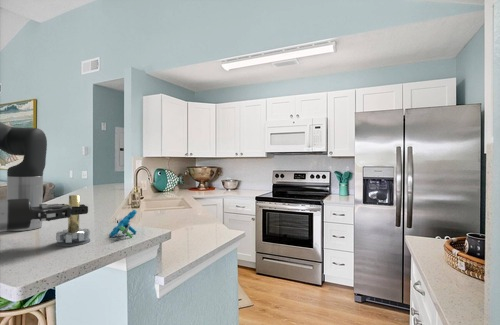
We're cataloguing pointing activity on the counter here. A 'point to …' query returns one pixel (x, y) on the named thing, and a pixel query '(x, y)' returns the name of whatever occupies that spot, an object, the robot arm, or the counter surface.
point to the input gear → (73, 225)
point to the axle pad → (73, 243)
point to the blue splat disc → (125, 225)
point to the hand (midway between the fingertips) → (86, 208)
